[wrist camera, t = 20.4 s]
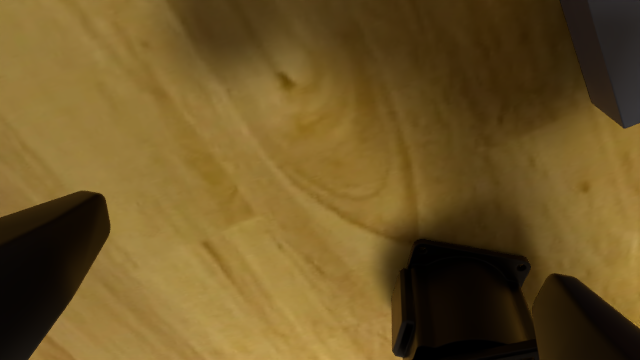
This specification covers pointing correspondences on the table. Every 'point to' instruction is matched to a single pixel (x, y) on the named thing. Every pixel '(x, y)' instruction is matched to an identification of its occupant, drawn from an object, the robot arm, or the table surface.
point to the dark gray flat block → (608, 54)
